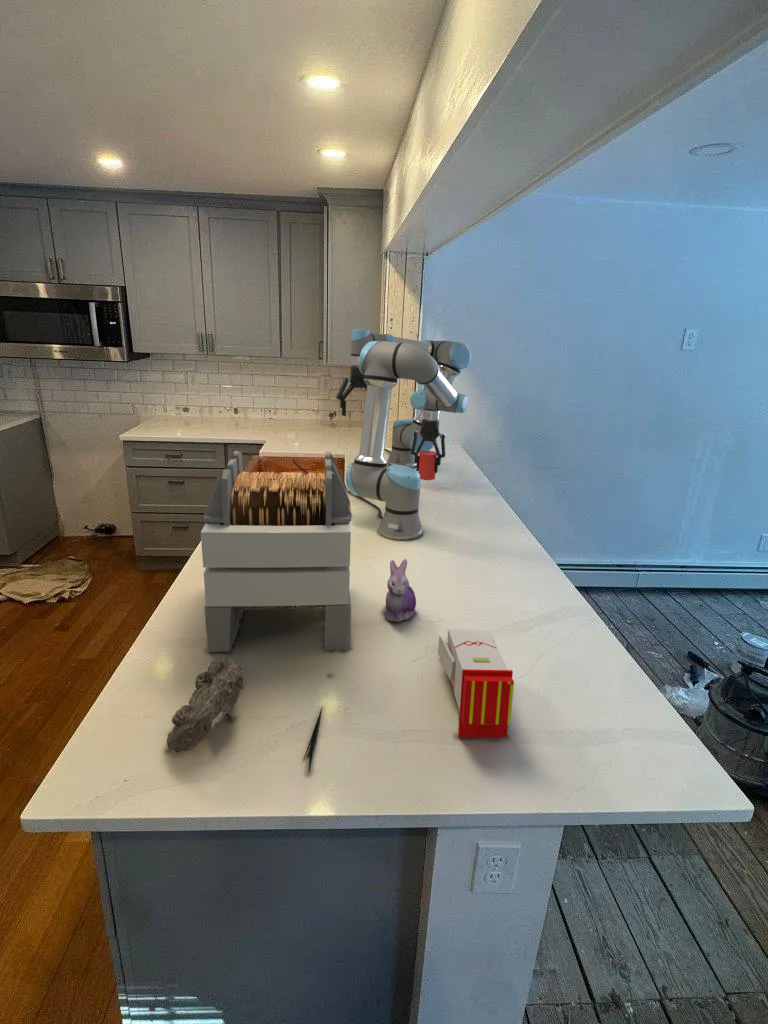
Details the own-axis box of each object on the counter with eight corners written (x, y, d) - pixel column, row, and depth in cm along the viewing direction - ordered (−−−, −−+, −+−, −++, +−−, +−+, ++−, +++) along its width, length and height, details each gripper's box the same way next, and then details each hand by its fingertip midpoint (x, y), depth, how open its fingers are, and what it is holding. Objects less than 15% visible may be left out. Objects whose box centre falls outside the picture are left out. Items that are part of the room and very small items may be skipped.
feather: (331, 679, 122) (336, 673, 122) (307, 777, 96) (313, 769, 95) (324, 675, 122) (329, 669, 121) (298, 772, 95) (304, 764, 95)
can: (419, 480, 245) (421, 454, 242) (416, 475, 252) (418, 450, 249) (436, 480, 246) (438, 455, 242) (433, 475, 253) (435, 450, 249)
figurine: (392, 627, 141) (395, 572, 136) (374, 608, 149) (376, 556, 144) (425, 619, 145) (429, 566, 140) (405, 601, 154) (408, 550, 149)
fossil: (192, 660, 117) (244, 628, 112) (224, 691, 120) (276, 661, 115) (142, 746, 98) (202, 712, 93) (182, 779, 101) (242, 748, 96)
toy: (488, 613, 130) (523, 677, 101) (484, 667, 133) (517, 744, 104) (435, 612, 130) (455, 676, 101) (432, 666, 133) (451, 743, 103)
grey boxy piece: (227, 584, 158) (219, 441, 145) (344, 583, 162) (347, 443, 148) (205, 654, 127) (191, 480, 113) (351, 650, 130) (355, 481, 117)
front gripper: (455, 420, 242) (451, 471, 250) (408, 416, 246) (405, 467, 254) (453, 423, 235) (449, 476, 243) (405, 418, 239) (402, 471, 247)
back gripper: (335, 367, 237) (334, 417, 244) (389, 366, 248) (386, 415, 255) (329, 365, 243) (328, 414, 251) (381, 365, 254) (379, 412, 261)
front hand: (426, 471), depth 248 cm, fingers closed on can, 8 cm apart
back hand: (358, 415), depth 253 cm, fingers open, 13 cm apart
